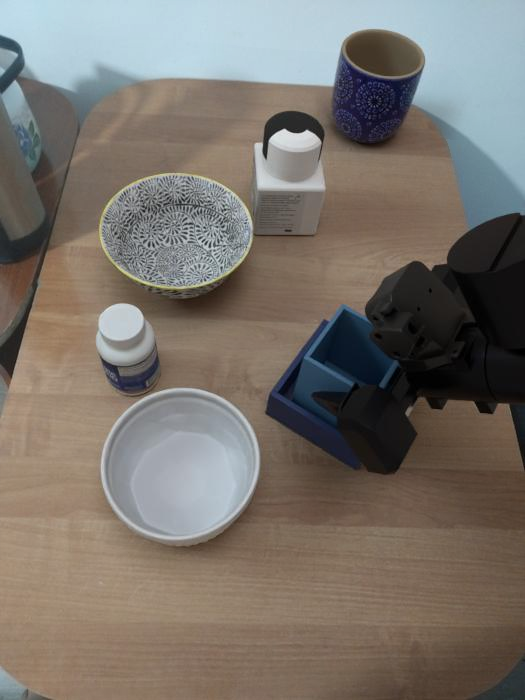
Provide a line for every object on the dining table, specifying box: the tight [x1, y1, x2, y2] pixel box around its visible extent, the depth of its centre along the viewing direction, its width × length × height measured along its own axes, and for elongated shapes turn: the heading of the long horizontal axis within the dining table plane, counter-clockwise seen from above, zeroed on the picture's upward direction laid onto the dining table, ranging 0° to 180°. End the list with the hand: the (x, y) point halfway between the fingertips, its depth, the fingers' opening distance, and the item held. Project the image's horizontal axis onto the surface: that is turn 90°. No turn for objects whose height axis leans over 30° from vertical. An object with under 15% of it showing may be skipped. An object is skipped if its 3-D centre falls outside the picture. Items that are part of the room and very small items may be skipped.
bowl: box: [98, 172, 255, 300], centre depth 61 cm, size 16×16×8 cm
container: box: [250, 110, 327, 236], centre depth 65 cm, size 8×8×13 cm
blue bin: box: [292, 303, 399, 429], centre depth 53 cm, size 7×7×10 cm
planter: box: [330, 28, 426, 144], centre depth 76 cm, size 11×11×11 cm
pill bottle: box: [95, 303, 161, 397], centre depth 53 cm, size 5×5×10 cm
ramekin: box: [99, 387, 262, 548], centre depth 49 cm, size 13×13×7 cm
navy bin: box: [265, 318, 402, 471], centre depth 56 cm, size 10×10×4 cm
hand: (339, 360), depth 51 cm, fingers open, 9 cm apart
